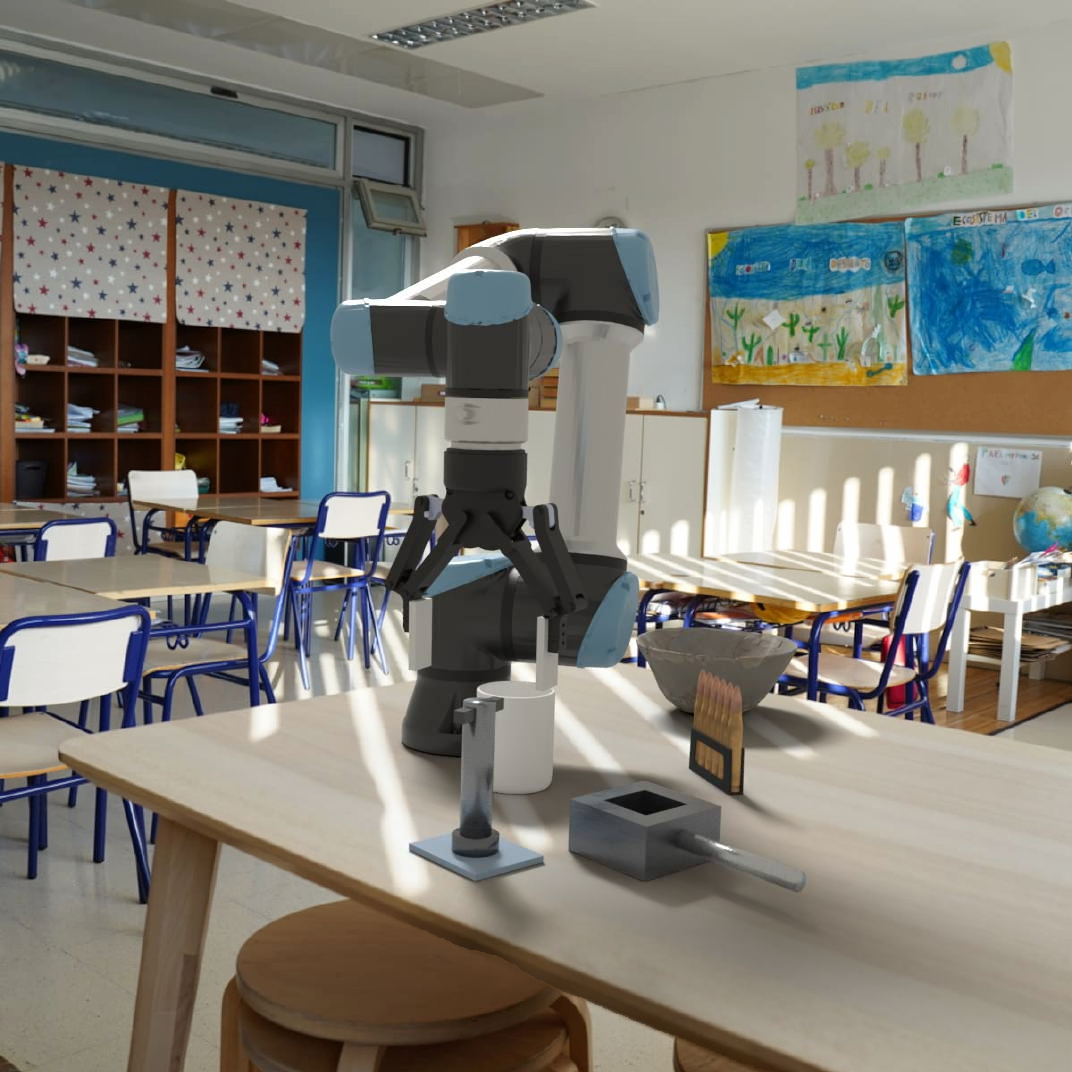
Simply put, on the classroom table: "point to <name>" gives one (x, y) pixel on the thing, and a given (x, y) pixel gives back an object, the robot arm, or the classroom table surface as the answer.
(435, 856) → the mat
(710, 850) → the block
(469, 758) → the key
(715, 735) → the ammunition clip
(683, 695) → the ceramic bowl
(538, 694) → the mug
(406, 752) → the classroom table surface
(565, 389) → the robot arm
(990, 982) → the classroom table surface
